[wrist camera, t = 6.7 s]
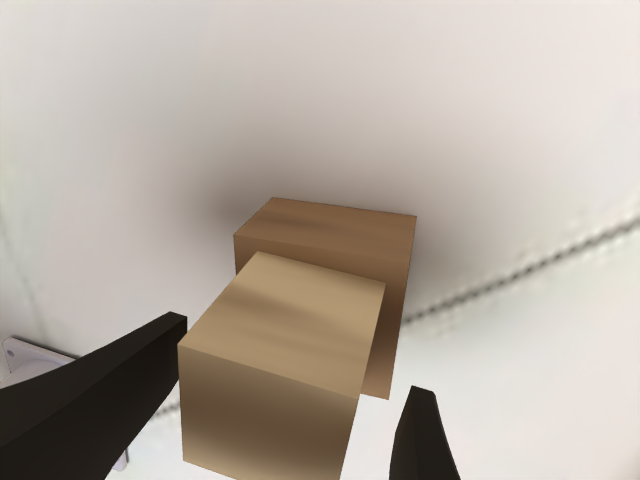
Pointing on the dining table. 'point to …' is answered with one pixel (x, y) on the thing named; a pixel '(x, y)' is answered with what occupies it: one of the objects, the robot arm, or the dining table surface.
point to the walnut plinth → (342, 260)
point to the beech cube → (277, 371)
